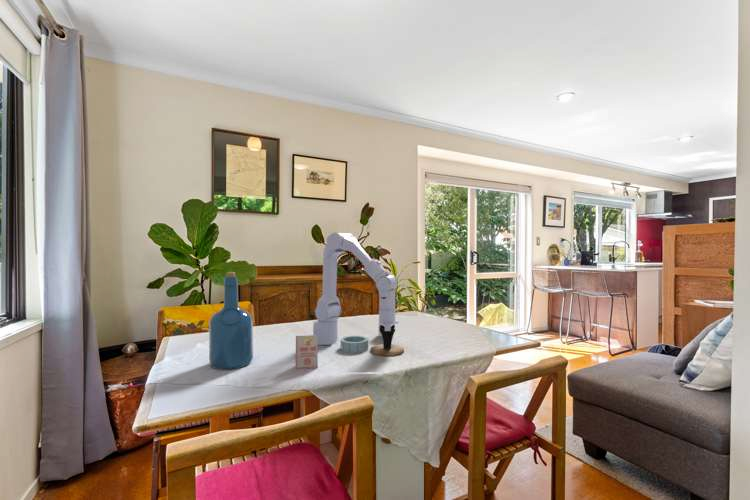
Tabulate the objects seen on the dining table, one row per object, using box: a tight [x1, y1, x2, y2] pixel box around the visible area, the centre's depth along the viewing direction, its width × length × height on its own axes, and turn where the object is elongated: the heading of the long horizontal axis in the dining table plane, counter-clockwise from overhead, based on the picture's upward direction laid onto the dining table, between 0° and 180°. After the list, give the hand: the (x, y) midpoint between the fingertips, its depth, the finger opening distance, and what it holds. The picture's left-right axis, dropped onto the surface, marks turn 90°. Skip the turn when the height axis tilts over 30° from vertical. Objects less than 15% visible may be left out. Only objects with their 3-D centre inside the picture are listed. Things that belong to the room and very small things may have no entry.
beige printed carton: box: [295, 334, 319, 370], centre depth 118 cm, size 4×7×10 cm, turn 100°
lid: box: [370, 343, 405, 357], centre depth 132 cm, size 12×12×5 cm
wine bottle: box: [208, 271, 254, 370], centre depth 120 cm, size 14×13×30 cm
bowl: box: [340, 335, 369, 354], centre depth 136 cm, size 10×10×4 cm
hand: (387, 346), depth 132 cm, fingers closed on lid, 3 cm apart
